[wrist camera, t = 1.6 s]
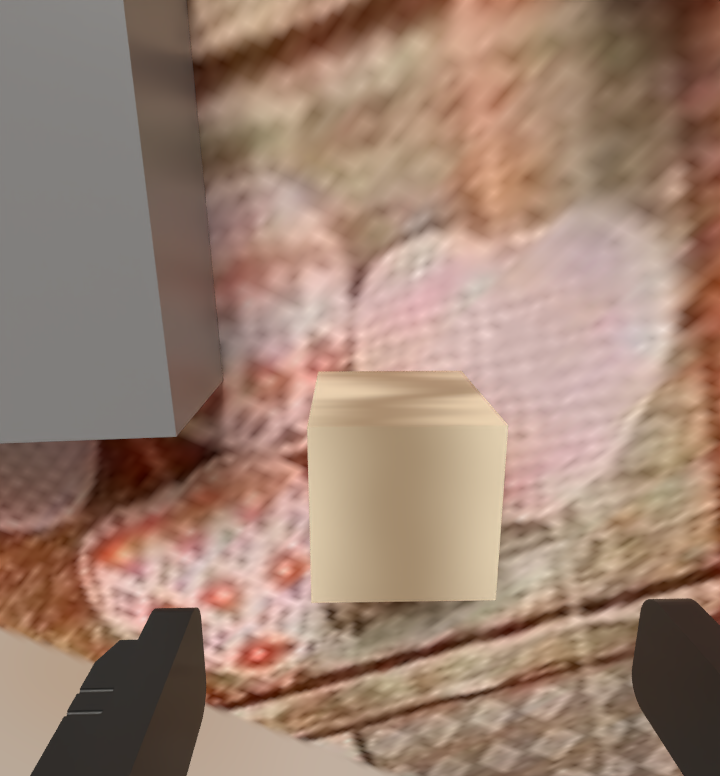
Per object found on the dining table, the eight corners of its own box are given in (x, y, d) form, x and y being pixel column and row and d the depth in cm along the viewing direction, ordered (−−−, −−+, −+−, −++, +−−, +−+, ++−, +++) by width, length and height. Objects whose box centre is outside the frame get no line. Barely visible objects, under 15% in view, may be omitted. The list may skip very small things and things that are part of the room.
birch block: (460, 370, 20) (507, 425, 14) (454, 501, 21) (495, 600, 16) (318, 371, 20) (307, 426, 14) (320, 502, 21) (311, 602, 15)
